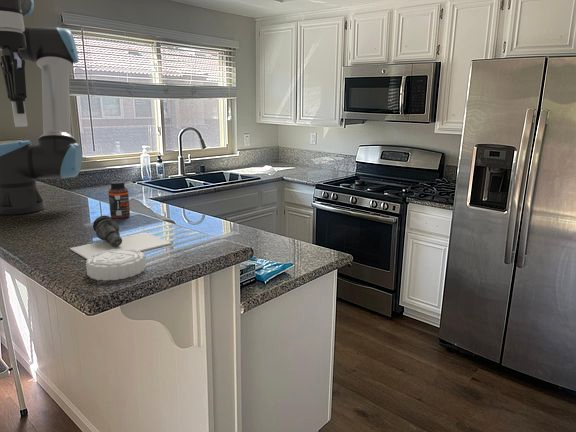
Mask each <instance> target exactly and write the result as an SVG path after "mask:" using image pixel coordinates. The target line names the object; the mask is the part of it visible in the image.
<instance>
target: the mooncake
mask: <svg viewBox="0 0 576 432" xmlns="http://www.w3.org/2000/svg"><path fill="white" fill-rule="evenodd" d="M85 266H86V267H85V268H86V274H87V276H88V277H89V278H90V279H94V280H96V281H104V282H105V281H106V282H107V281H118V280H123V279H128V278H131V277H135V276H136V275H140V274H141V273H142V272H144V271H145V270H146V268H147V263H146V256H145V253H144V252H143V251H142V252H141V251H136V250H135V249H112V250H108V251H105V252H101V253H96V254H95V255H93V256H91V257H89V259H88V260H87V259H85Z"/></svg>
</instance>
